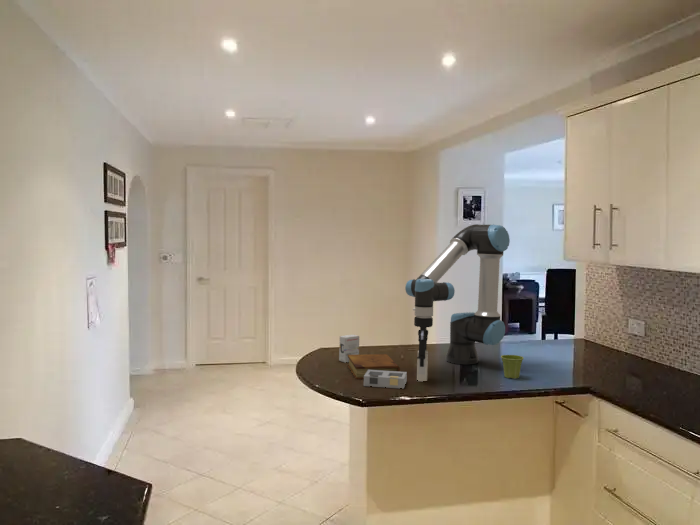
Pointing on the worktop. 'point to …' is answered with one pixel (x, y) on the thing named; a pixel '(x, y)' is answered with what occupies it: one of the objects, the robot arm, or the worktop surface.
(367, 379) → the socket block
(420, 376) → the plug
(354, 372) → the diary
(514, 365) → the plant pot
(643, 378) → the worktop surface
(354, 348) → the ink box
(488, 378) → the worktop surface
